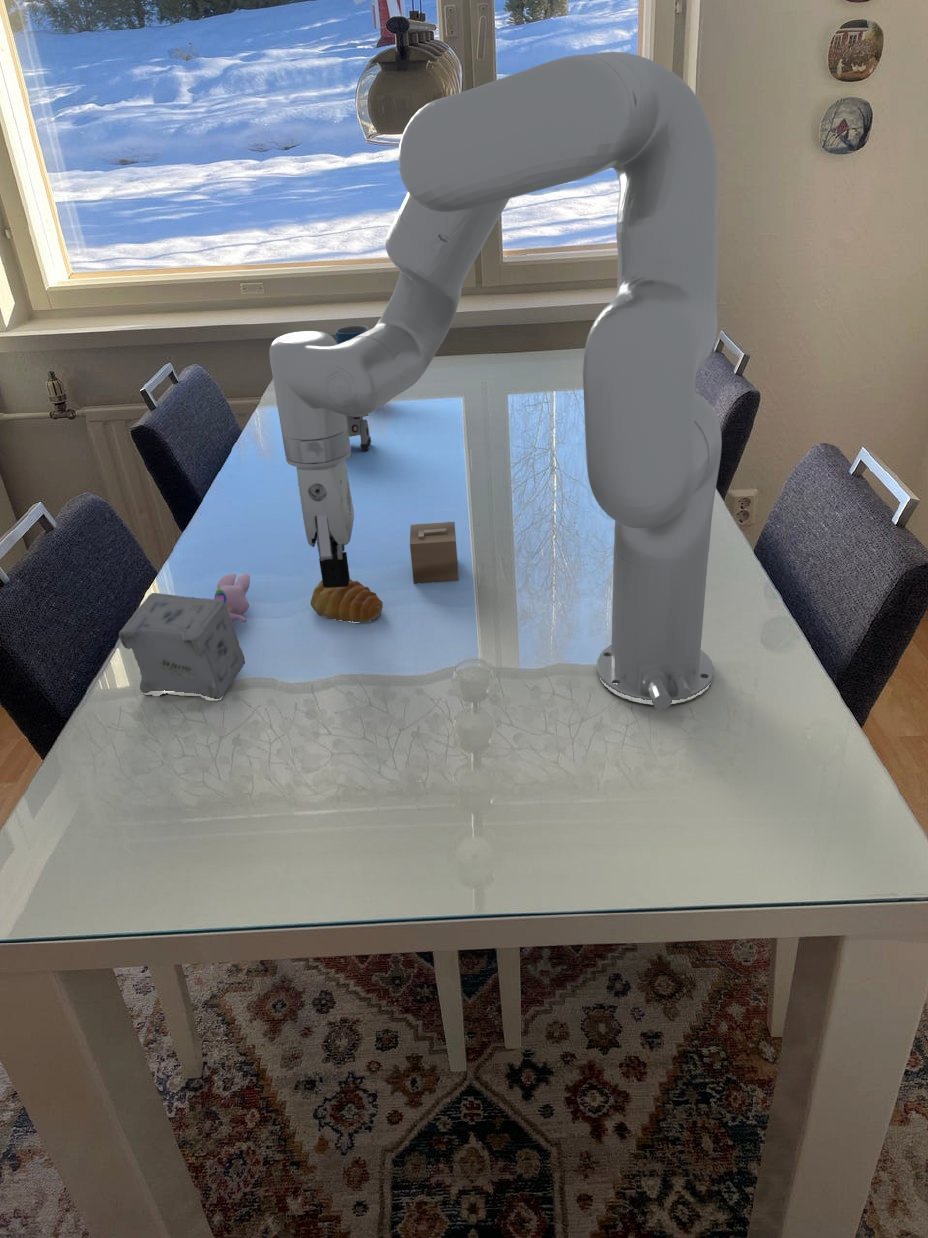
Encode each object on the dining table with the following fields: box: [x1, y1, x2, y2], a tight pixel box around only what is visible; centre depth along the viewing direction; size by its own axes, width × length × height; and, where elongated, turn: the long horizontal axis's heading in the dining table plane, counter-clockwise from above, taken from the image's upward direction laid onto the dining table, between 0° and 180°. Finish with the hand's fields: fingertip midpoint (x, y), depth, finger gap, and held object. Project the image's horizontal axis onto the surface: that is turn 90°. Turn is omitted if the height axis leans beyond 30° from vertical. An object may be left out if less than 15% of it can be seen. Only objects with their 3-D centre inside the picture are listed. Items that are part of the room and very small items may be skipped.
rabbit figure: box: [213, 572, 251, 623], centre depth 118 cm, size 6×6×15 cm
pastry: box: [310, 578, 384, 623], centre depth 119 cm, size 9×7×4 cm
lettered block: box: [409, 521, 459, 585], centre depth 126 cm, size 6×6×6 cm
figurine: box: [347, 414, 372, 452], centre depth 170 cm, size 9×12×15 cm
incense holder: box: [118, 592, 246, 699], centre depth 105 cm, size 10×8×10 cm
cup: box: [335, 324, 370, 344], centre depth 191 cm, size 7×7×15 cm
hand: (336, 583), depth 117 cm, fingers closed
